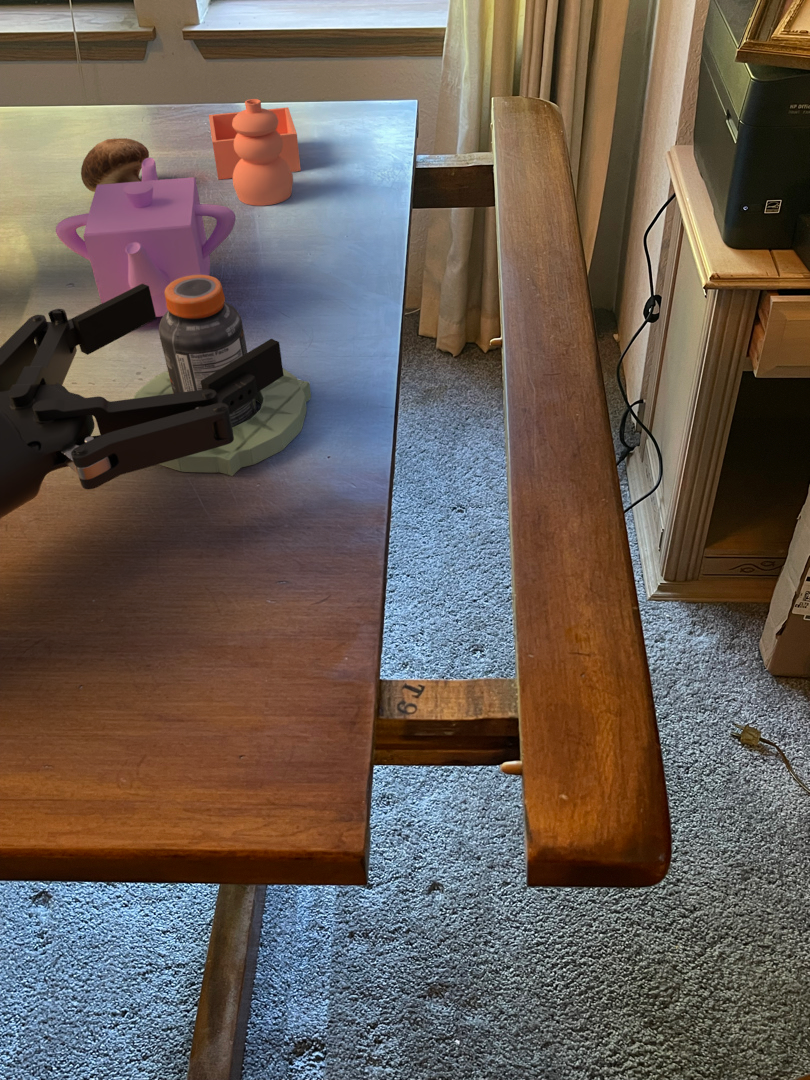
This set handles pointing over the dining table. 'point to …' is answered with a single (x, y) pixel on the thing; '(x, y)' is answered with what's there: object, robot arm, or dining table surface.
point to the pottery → (256, 152)
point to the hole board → (247, 426)
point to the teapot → (146, 234)
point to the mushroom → (113, 162)
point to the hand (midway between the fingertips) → (211, 327)
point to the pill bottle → (201, 336)
